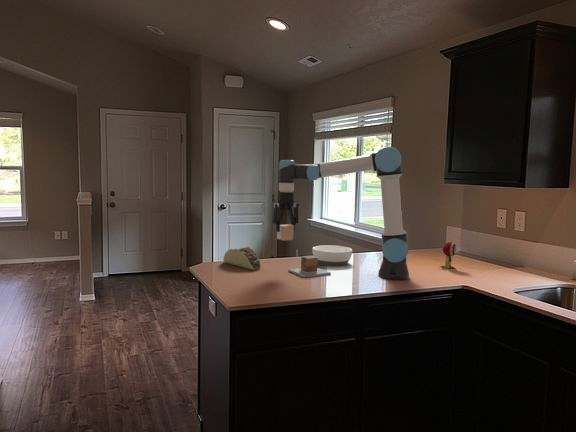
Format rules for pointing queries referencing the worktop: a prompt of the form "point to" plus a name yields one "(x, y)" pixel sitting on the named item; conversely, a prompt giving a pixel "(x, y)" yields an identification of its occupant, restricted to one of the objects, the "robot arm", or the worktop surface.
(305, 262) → the walnut block
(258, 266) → the taco
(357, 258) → the worktop surface
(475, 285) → the worktop surface
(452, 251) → the figurine
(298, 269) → the board
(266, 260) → the worktop surface
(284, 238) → the terracotta block
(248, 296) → the worktop surface
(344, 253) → the bowl
